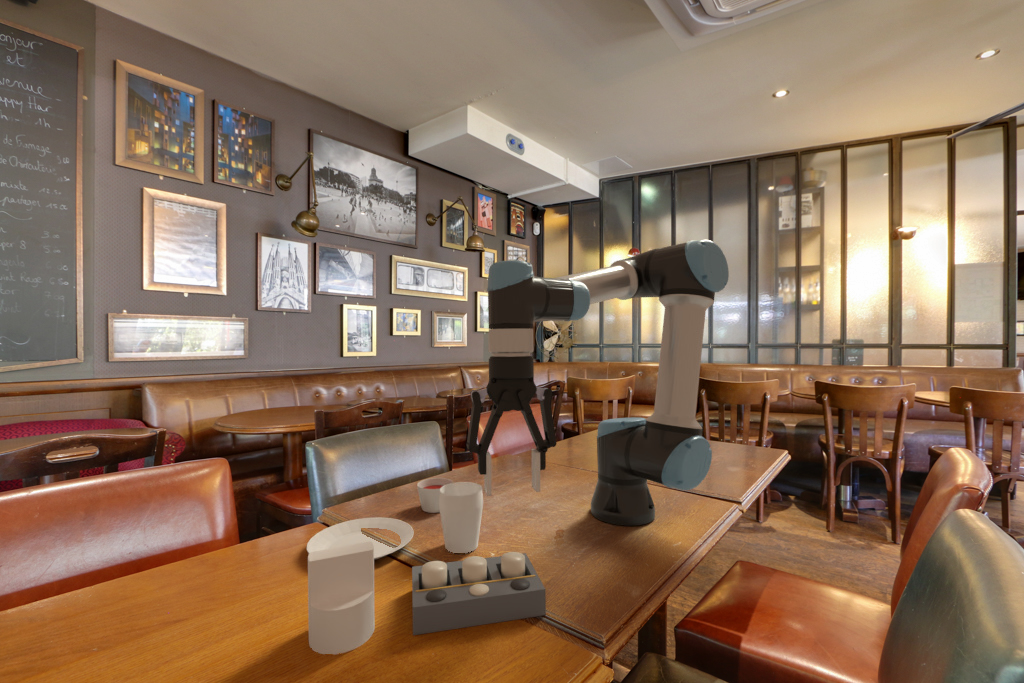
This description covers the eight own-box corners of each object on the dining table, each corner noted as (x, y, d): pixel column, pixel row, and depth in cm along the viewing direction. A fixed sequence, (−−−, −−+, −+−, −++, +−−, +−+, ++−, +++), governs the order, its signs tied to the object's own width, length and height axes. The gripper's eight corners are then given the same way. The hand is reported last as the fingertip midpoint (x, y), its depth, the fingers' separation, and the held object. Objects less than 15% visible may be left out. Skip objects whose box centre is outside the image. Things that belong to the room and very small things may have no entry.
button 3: (446, 582, 75) (445, 559, 75) (448, 595, 71) (448, 571, 71) (421, 585, 74) (421, 562, 74) (422, 599, 70) (422, 574, 70)
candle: (440, 499, 120) (440, 475, 120) (460, 508, 114) (460, 483, 114) (410, 508, 114) (410, 483, 114) (429, 518, 107) (429, 491, 107)
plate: (344, 523, 105) (344, 514, 105) (429, 530, 101) (429, 520, 101) (282, 568, 85) (282, 556, 85) (384, 579, 80) (384, 567, 80)
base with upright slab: (308, 662, 59) (307, 572, 59) (309, 623, 68) (308, 544, 68) (378, 643, 63) (377, 558, 63) (371, 608, 71) (370, 533, 71)
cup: (476, 559, 87) (476, 497, 87) (432, 555, 89) (432, 494, 89) (488, 539, 96) (487, 482, 96) (448, 535, 98) (447, 480, 98)
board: (525, 575, 81) (525, 552, 81) (545, 614, 69) (545, 587, 69) (412, 590, 76) (412, 565, 76) (412, 635, 65) (412, 606, 65)
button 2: (484, 577, 76) (484, 554, 76) (488, 590, 72) (488, 566, 72) (461, 580, 75) (460, 557, 75) (464, 593, 71) (463, 569, 71)
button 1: (521, 572, 78) (521, 550, 78) (527, 584, 74) (527, 561, 74) (499, 575, 77) (499, 553, 77) (504, 588, 73) (503, 564, 73)
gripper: (561, 353, 81) (562, 479, 81) (447, 355, 76) (449, 488, 77) (576, 354, 74) (577, 493, 74) (451, 356, 69) (453, 504, 69)
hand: (512, 490), depth 75 cm, fingers open, 8 cm apart
